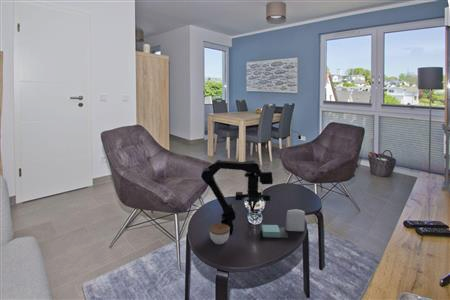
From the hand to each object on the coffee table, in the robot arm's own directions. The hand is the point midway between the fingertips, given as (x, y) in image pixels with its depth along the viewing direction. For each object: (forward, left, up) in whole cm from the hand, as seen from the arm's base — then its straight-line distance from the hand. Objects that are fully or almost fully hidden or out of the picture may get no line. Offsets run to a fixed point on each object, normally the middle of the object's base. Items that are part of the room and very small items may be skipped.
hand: (252, 210), depth 165 cm
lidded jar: (-18, -11, -13) cm, 24 cm away
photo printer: (+25, +3, -13) cm, 28 cm away
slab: (+6, -2, -11) cm, 12 cm away
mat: (+13, -1, -12) cm, 18 cm away
